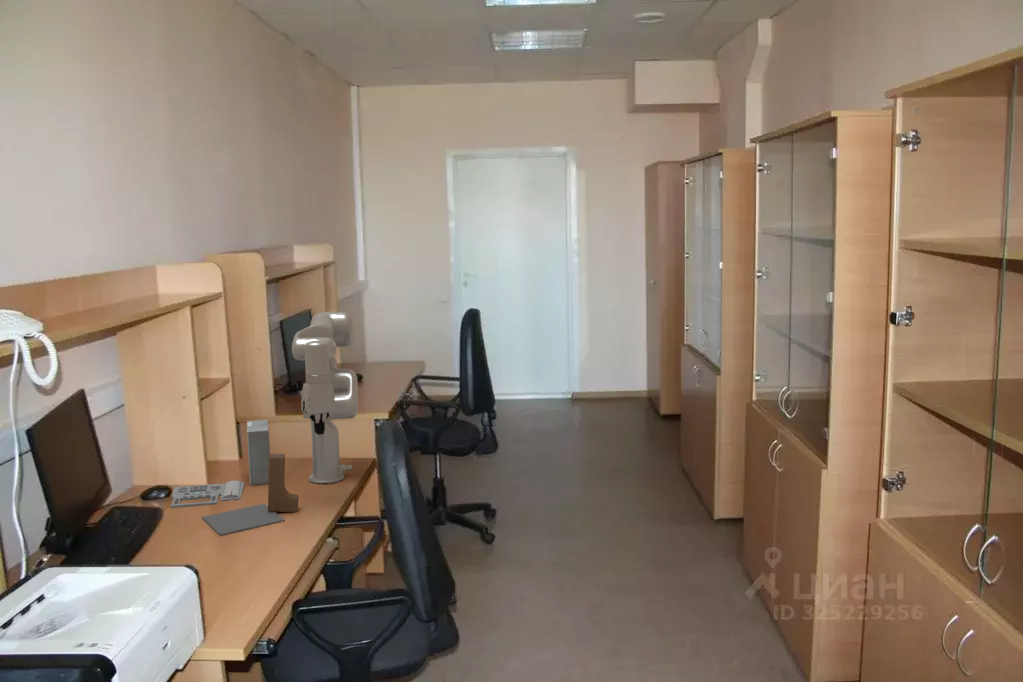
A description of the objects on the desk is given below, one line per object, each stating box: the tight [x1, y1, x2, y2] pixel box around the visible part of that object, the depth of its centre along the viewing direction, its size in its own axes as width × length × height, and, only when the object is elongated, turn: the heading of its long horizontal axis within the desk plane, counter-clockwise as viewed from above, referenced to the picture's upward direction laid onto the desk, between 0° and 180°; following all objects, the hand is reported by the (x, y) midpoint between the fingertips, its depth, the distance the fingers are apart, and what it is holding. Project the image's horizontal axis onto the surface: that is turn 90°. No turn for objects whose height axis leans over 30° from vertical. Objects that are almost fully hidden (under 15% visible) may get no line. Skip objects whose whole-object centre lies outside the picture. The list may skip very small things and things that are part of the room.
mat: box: [201, 503, 286, 537], centre depth 256 cm, size 20×18×1 cm
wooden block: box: [267, 453, 299, 513], centre depth 262 cm, size 9×4×18 cm, turn 99°
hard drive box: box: [246, 419, 271, 486], centre depth 295 cm, size 16×8×20 cm, turn 17°
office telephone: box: [170, 480, 245, 509], centre depth 278 cm, size 23×3×20 cm
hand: (319, 433), depth 268 cm, fingers closed
